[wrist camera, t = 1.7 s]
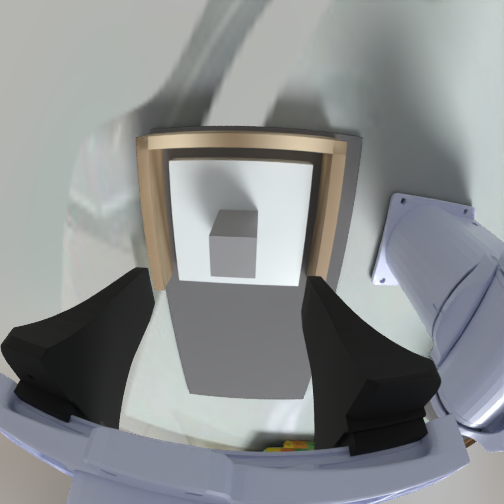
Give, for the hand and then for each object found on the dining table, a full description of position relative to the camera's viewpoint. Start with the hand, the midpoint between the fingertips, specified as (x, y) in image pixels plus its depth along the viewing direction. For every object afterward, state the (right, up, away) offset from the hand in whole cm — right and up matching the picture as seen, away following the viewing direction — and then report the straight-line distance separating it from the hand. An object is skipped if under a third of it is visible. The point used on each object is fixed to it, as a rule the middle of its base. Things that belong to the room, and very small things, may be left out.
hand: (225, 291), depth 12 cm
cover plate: (0, +4, +7) cm, 8 cm away
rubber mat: (+1, -3, +11) cm, 12 cm away
